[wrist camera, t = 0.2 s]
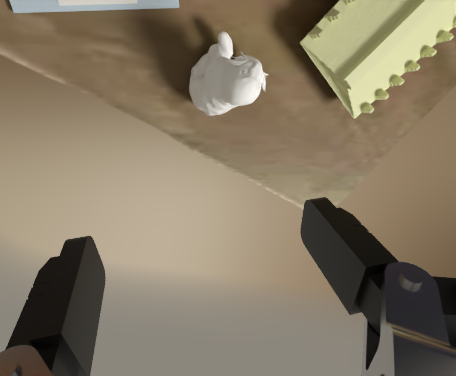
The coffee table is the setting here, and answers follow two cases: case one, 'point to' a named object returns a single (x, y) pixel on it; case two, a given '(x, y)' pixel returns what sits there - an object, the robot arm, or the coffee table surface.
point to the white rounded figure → (225, 79)
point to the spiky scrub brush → (376, 45)
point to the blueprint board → (88, 5)
